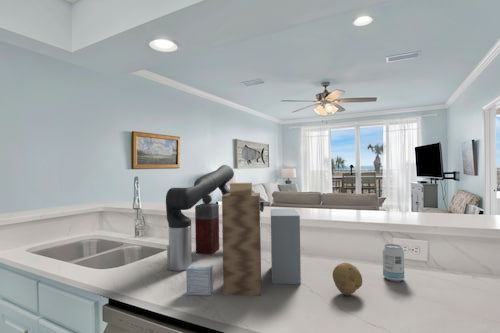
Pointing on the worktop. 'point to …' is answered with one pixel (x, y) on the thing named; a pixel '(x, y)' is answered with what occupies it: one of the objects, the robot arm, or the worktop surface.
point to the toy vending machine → (207, 226)
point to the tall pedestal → (241, 244)
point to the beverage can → (393, 262)
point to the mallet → (240, 189)
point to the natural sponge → (347, 278)
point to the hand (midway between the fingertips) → (246, 200)
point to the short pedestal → (285, 246)
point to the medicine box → (199, 279)
